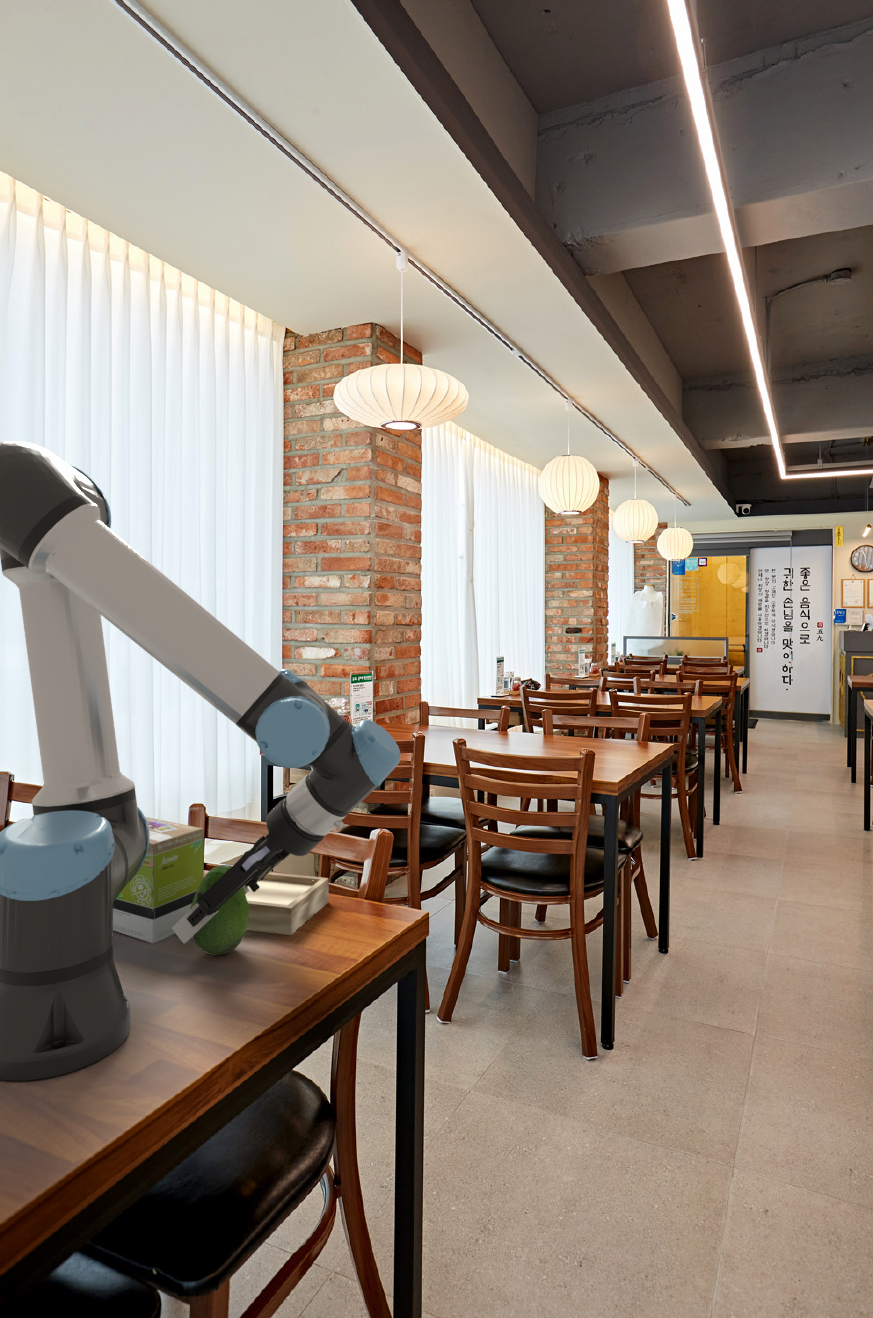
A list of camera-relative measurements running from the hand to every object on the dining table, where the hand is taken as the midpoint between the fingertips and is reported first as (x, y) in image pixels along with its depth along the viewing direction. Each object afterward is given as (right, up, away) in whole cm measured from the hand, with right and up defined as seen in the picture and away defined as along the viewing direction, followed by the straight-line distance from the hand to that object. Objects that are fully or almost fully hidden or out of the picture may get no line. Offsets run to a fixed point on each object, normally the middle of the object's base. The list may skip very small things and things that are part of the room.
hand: (197, 923), depth 105 cm
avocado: (+3, -4, -1) cm, 5 cm away
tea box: (-11, -3, +9) cm, 15 cm away
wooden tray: (+7, -3, +14) cm, 16 cm away
